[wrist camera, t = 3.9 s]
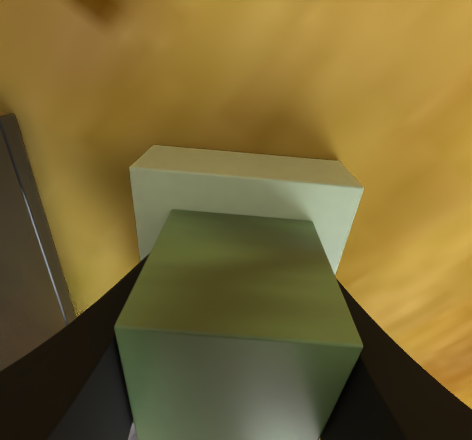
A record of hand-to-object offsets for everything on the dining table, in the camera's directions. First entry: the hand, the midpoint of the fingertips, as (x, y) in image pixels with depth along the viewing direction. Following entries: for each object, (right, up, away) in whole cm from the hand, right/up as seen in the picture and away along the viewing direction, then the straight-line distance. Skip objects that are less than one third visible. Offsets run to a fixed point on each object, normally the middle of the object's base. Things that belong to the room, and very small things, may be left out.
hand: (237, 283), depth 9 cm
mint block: (0, +2, +3) cm, 3 cm away
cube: (0, 0, +1) cm, 1 cm away
